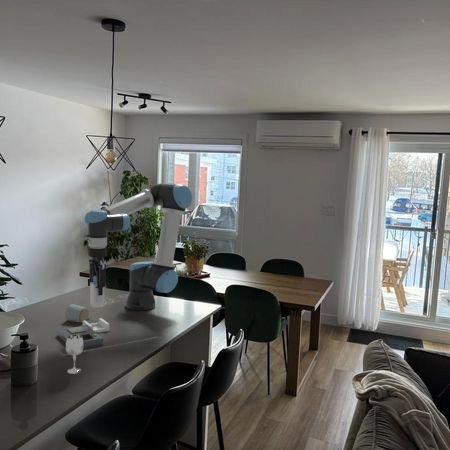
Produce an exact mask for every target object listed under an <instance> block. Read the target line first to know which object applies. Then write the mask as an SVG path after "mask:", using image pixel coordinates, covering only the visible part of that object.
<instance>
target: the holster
mask: <svg viewBox="0 0 450 450" xmlns="http://www.w3.org/2000/svg"><path fill="white" fill-rule="evenodd" d="M85 325H87V326H88V327H89V328H91V329H92V330H93V331H95V332H96V333H97V334H98V333H104V332H109V331H110V323H109V322H107V320H105V319H103V318H102V317H99V318H98V322H92V323H90V322H88V320H87V321H83V323H82V326H85Z"/></svg>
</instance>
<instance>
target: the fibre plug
mask: <svg viewBox="0 0 450 450" xmlns="http://www.w3.org/2000/svg"><path fill="white" fill-rule="evenodd" d="M96 287H97V277H96V275H95V276H93V282H90V281H89V290H90V291H89V306H91V307H92V308H95V309H96V308H103V307H105V287H103V302H100V303H96Z"/></svg>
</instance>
